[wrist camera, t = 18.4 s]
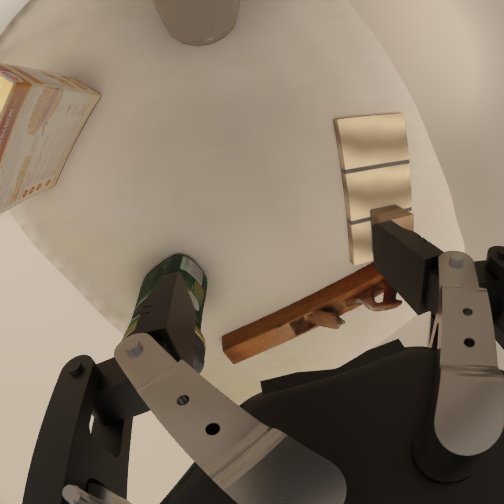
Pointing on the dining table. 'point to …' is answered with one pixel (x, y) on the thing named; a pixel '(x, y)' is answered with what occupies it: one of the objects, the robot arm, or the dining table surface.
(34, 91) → the coffeecake box
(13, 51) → the dining table surface
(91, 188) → the dining table surface
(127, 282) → the dining table surface
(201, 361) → the coffee jar
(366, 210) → the board
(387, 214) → the block
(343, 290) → the hand plane
